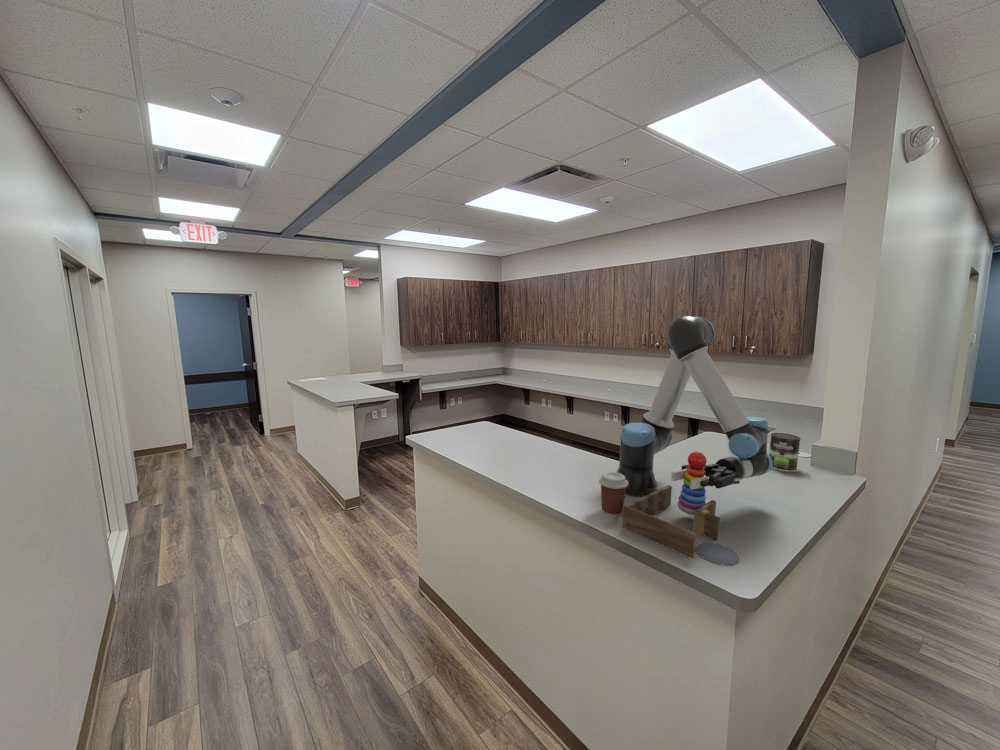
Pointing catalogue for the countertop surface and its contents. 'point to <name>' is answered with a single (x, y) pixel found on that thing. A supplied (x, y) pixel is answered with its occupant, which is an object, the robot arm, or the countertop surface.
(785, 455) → the coffee can
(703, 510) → the corner post
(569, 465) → the countertop surface
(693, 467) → the stacking toy
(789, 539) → the countertop surface
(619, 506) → the coffee cup
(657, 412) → the robot arm
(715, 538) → the brown open angular frame
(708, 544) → the pad
